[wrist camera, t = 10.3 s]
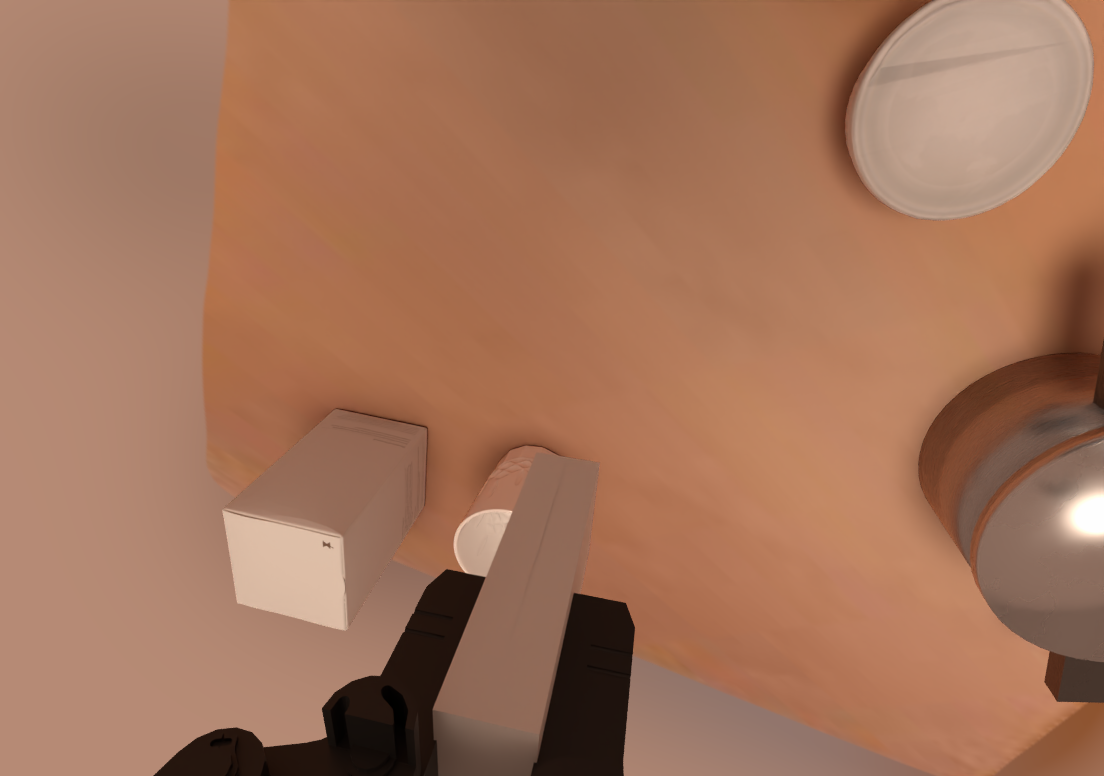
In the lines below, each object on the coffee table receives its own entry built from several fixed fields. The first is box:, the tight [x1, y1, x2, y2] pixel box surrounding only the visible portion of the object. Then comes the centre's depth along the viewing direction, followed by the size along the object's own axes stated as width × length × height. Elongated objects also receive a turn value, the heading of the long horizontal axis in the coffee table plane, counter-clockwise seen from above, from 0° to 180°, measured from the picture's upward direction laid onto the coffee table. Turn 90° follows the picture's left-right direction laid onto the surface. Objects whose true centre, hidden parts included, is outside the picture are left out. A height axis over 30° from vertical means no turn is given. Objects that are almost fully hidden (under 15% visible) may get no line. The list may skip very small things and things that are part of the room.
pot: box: [918, 341, 1104, 703], centre depth 39 cm, size 30×16×9 cm, turn 11°
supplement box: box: [222, 409, 427, 630], centre depth 47 cm, size 9×9×15 cm
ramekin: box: [845, 0, 1094, 220], centre depth 33 cm, size 11×11×5 cm
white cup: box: [454, 445, 558, 577], centre depth 47 cm, size 8×8×10 cm
